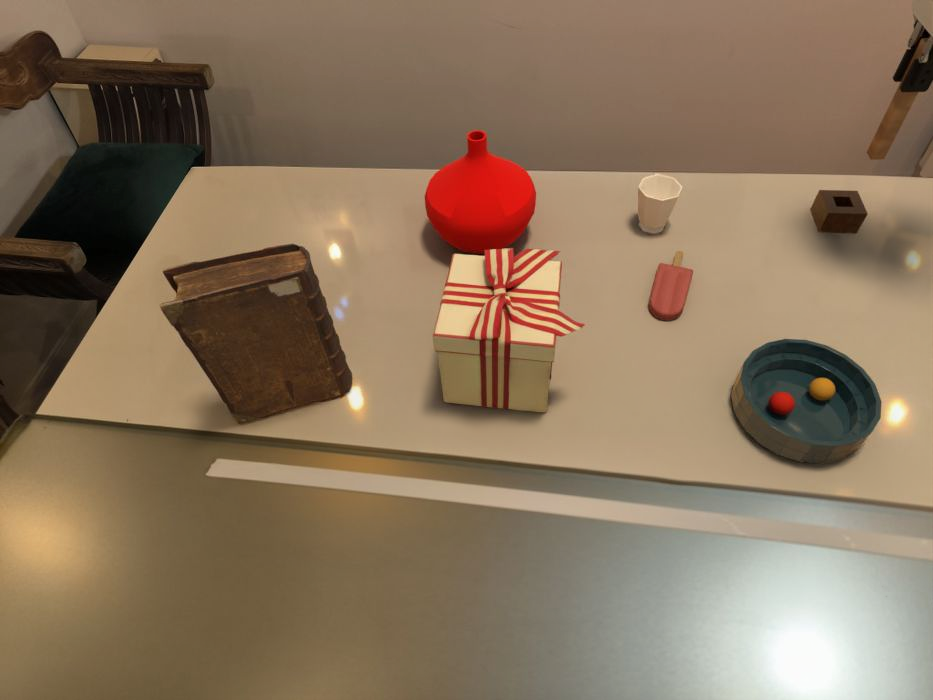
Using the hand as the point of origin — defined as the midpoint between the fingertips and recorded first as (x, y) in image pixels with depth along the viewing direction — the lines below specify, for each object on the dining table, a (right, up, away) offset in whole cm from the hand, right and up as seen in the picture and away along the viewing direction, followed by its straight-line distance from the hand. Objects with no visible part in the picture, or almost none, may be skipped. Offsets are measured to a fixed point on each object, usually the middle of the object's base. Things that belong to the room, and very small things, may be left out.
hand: (909, 84), depth 78 cm
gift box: (-50, -36, +10) cm, 63 cm away
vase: (-54, -14, +28) cm, 63 cm away
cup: (-25, -12, +28) cm, 39 cm away
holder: (+5, -12, +24) cm, 28 cm away
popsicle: (-25, -24, +18) cm, 39 cm away
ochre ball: (-10, -39, +2) cm, 41 cm away
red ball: (-16, -41, +1) cm, 44 cm away
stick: (+1, -7, +8) cm, 10 cm away
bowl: (-13, -42, +2) cm, 44 cm away
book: (-81, -41, +9) cm, 91 cm away
